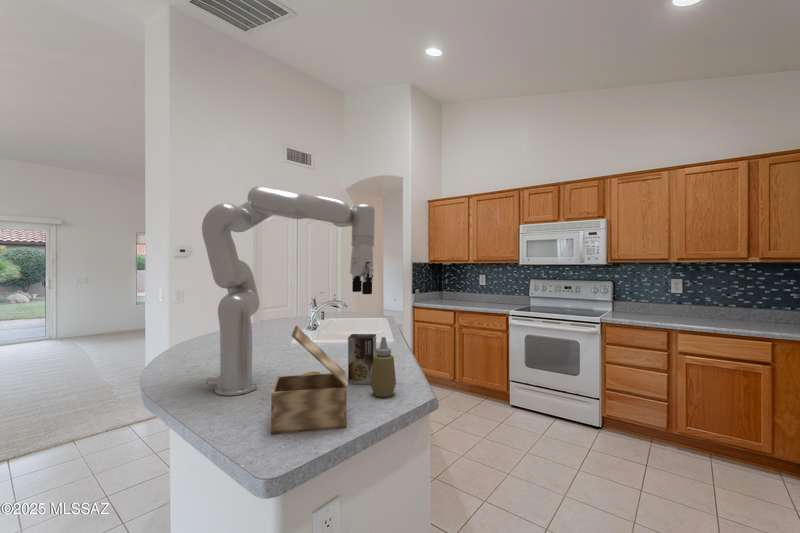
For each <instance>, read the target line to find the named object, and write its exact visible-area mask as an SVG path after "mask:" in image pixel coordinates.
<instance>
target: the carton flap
mask: <svg viewBox="0 0 800 533" xmlns="http://www.w3.org/2000/svg"><path fill="white" fill-rule="evenodd" d="M291 337H292V338H293V339H294V340H295V341H296V342H298V344H299V345H301V346H302V347H303V348H304V349H305V351H307V352H308V353H309V354H310V355H311V356H312V357H313V358H315V359H316V361H318V362H319V363H320V364H321V365H322V366H323V367H325V369H327V370H328V372H329V373H332V374H333V375H334V376H335V377H336V378H337V379H338V380H339V381H341V382H342V383H343V384H344V385H345V386H346V387H347V388H348V387H349V384H348V377H347V374H346V371H345V370H344V369H343V368H342V367H341V366H340V365H339V364H338V363H337V362H336V361H335V360H334V359H333V358H331V357H330V356H329V355H328V354H327V353H326V352H325V351H324V350H323V349H322V348H320V347H319V346H318V344H316V342H314V341H313V340H312V339H311V338H310V337H309V336H308V335H307V334H306V333H305V332H303V330H301V328H299V326H298V325H295V326H294V328H293V332H292V334H291Z"/></svg>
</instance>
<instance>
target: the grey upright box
mask: <svg viewBox="0 0 800 533" xmlns="http://www.w3.org/2000/svg"><path fill="white" fill-rule="evenodd" d="M376 349H377V334H376V333H351V334H350V335H349V336H348V337H347V355H348V356H347V358H348V359H347V361H348V362H347V366H348V367H347V370H348V371H347V374H348V375H347V382H348V383H349V384H348V385H350V384H351V385H371V376H372V366H373V357H374V356H375V355H377V354H376Z"/></svg>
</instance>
